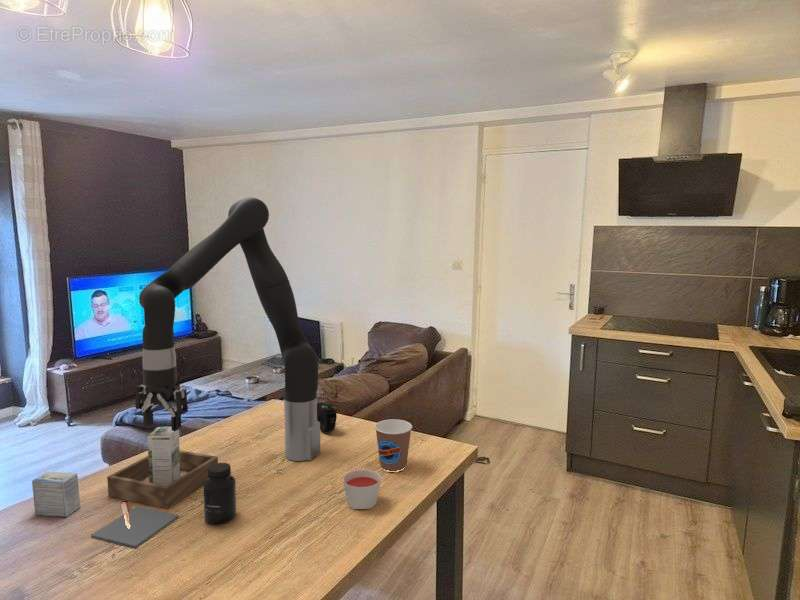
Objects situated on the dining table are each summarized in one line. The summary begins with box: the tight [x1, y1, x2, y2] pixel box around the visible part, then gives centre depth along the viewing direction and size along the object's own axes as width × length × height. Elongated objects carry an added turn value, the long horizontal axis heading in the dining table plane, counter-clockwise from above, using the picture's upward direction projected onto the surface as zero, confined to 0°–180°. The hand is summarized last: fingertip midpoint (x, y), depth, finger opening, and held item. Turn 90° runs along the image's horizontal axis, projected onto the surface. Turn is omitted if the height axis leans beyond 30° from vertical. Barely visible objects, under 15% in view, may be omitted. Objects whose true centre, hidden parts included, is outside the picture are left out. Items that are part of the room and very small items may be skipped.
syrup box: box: [147, 426, 182, 486], centre depth 126 cm, size 6×6×14 cm
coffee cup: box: [374, 418, 413, 471], centre depth 137 cm, size 10×10×12 cm
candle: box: [342, 468, 382, 510], centre depth 118 cm, size 9×9×6 cm
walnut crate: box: [106, 450, 219, 510], centre depth 127 cm, size 18×18×5 cm
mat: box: [90, 505, 180, 549], centre depth 108 cm, size 12×12×1 cm
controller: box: [317, 402, 338, 433], centre depth 163 cm, size 4×12×10 cm, turn 32°
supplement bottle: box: [203, 462, 237, 526], centre depth 112 cm, size 7×7×12 cm
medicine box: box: [31, 471, 81, 518], centre depth 114 cm, size 8×4×9 cm, turn 84°
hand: (162, 427), depth 125 cm, fingers open, 8 cm apart
